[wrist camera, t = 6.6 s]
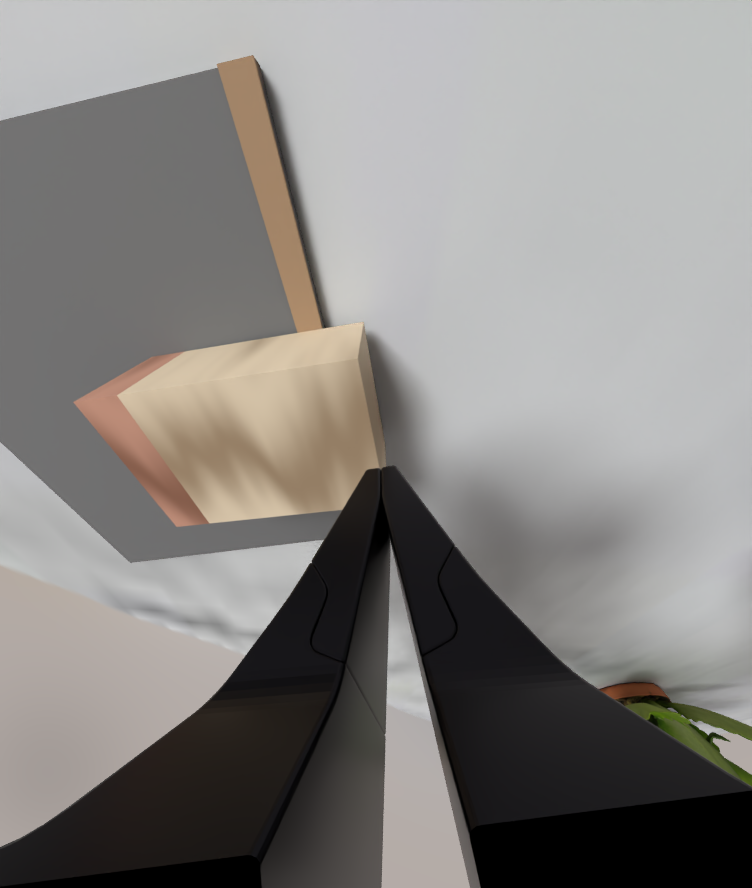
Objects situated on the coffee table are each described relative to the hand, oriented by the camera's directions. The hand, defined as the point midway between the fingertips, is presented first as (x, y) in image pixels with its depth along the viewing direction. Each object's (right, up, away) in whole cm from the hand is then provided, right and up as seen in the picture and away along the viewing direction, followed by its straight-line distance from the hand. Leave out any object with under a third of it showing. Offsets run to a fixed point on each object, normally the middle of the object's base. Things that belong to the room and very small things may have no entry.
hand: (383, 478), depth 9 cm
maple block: (0, +2, +3) cm, 4 cm away
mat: (-10, +2, +6) cm, 12 cm away
